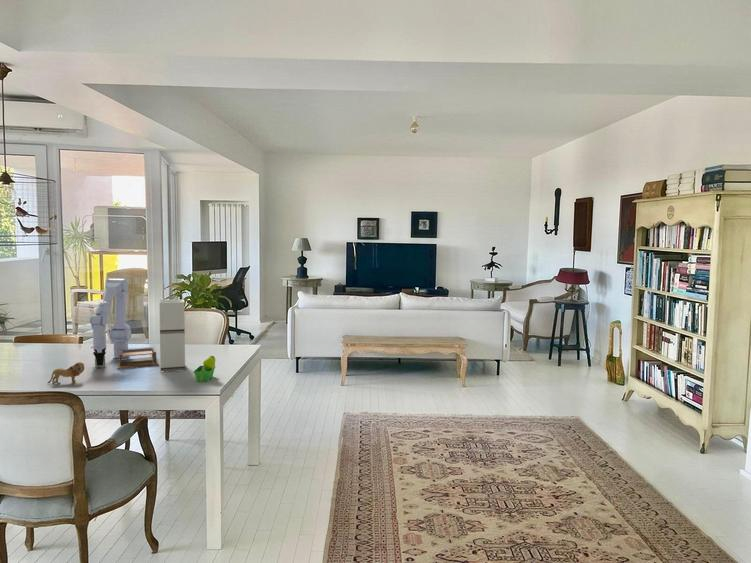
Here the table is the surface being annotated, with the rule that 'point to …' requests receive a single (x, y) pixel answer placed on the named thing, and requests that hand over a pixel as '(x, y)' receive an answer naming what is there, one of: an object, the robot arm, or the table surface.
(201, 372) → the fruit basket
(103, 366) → the pale sage cube
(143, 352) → the trapdoor
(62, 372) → the lion figurine
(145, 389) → the table surface
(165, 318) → the striped white tower
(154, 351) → the frame
